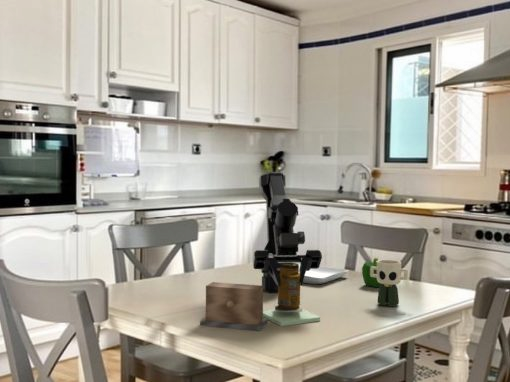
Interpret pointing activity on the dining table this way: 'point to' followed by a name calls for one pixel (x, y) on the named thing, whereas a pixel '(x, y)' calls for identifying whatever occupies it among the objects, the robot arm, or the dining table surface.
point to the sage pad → (290, 317)
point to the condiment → (289, 288)
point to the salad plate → (323, 274)
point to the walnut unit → (234, 306)
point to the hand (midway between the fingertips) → (290, 285)
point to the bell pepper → (366, 274)
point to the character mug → (388, 280)
